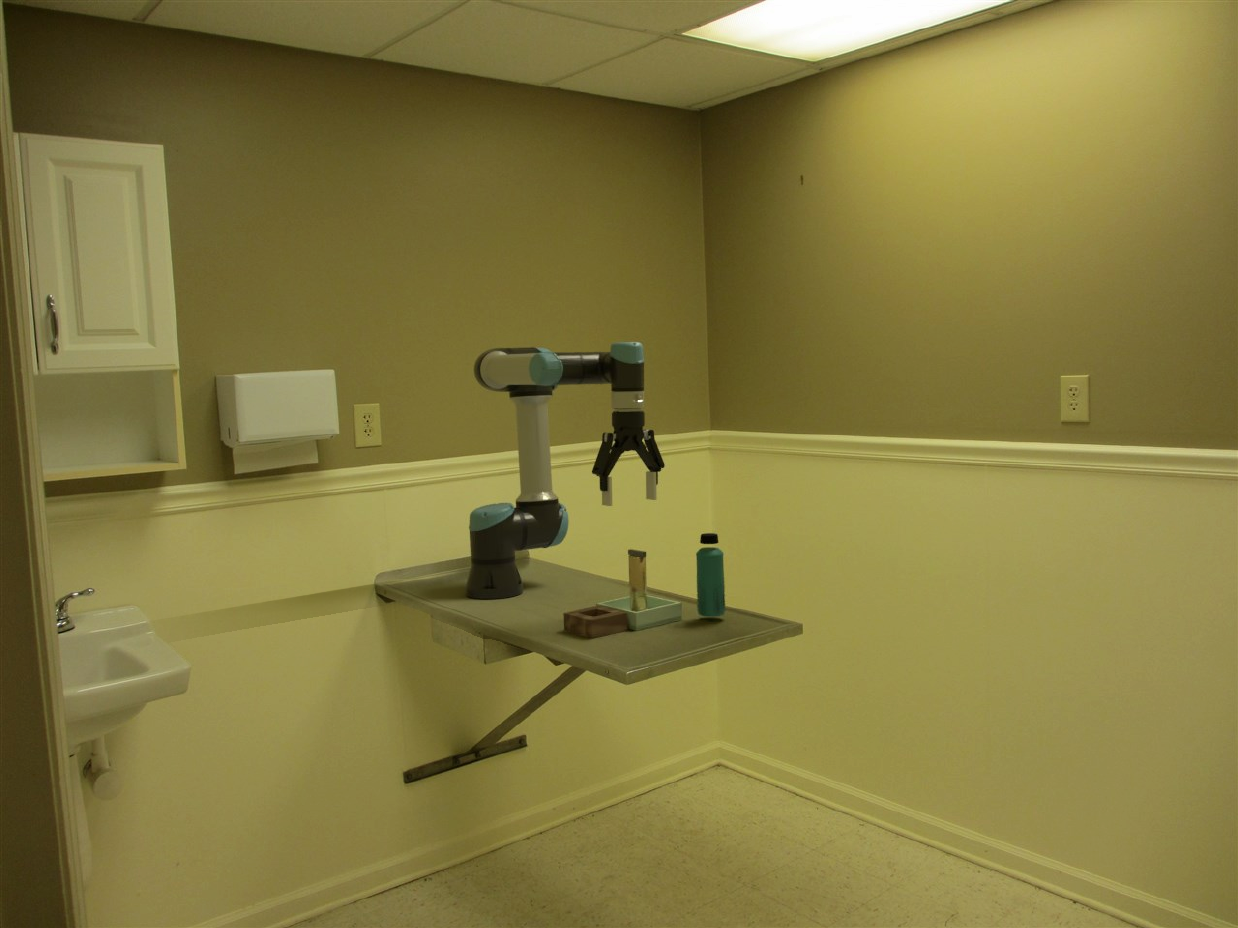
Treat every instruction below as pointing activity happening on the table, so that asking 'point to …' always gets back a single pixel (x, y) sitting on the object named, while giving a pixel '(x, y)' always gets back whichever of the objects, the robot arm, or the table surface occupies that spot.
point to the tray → (647, 612)
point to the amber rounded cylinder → (637, 580)
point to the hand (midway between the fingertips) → (629, 502)
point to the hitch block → (595, 621)
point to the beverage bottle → (710, 578)
